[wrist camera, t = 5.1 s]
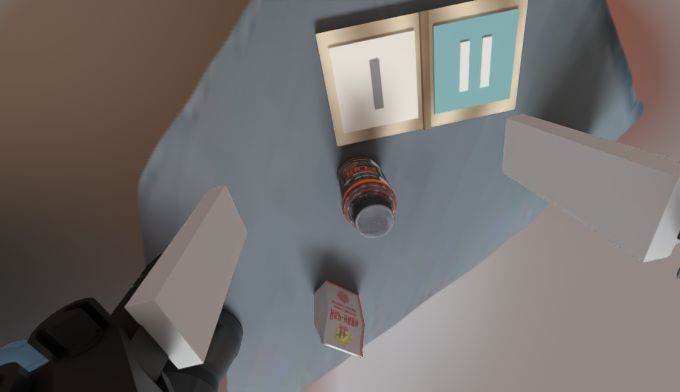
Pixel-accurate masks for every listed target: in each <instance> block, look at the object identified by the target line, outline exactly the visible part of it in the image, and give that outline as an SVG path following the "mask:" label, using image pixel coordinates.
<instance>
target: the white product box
mask: <svg viewBox="0 0 680 392" xmlns="http://www.w3.org/2000/svg"><path fill="white" fill-rule="evenodd" d="M314 325H315V327H316V329H317V331H318V333H319V335H320V338H321V342H322V344H324V345H326V346H329V347H332V348H335V349H338V350H340V351H343V352H346V353H349V354H351V355H355V356H357V357H360V358H361V356H363V354H362V348H363V335H364V320H363V315H362V310H361V305H360V300H359V295H358V294H355V293H353V292H351V291H349V290H347V289H345V288H342V287H340V286H338V285H336V284H334V283H331V282H329V281H327V280H326V281H325V282H324V283H323V284H322V286H321V287H320V288H319V289H318V290H317V291H316V292H315V293H314Z"/></svg>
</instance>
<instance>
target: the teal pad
mask: <svg viewBox="0 0 680 392" xmlns="http://www.w3.org/2000/svg"><path fill="white" fill-rule="evenodd" d="M519 9H520V8H519ZM519 9H514V10H509V11H505V12H500V13H495V14H490V15H486V16H481V17H476V18H471V19H466V20H462V21H457V22H452V23H447V24H443V25H438V26H433V27H432V31H433V84H434V114H439V113H444V112H449V111H453V110H458V109H463V108H468V107H472V106H477V105H482V104H487V103H491V102H496V101H501V100H506V99H510V92H511V82H512V73H513V64H514V55H515V46H516V36H517V27H518V18H519Z"/></svg>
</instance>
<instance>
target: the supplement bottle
mask: <svg viewBox="0 0 680 392" xmlns="http://www.w3.org/2000/svg"><path fill="white" fill-rule="evenodd" d="M337 182H338V188H339V193H340V199H341V205H342V210H343V214H344V217H345V218H346V220H347V222H348V223H349V224H350V225H352V226H353V227H355V228H356V229H357V231H358V232H359V233H360V234H361V235H363V236H365V237H369V238H377V237H381V236H383V235H385V234H386V233H388V232H389V231H390V230H391V228H392V227H393V225H394V220H395V218H394V214H395V212H396V207H397V202H396V197H395V195H394V193H393V191H392V189H391V187H390V185H389V184H388V182H387V180H386V178H385V176H384V175H383V173H382V171H381V169H380V167H379V166H378V165H377V163H376V162H375V161H373V160H372V159H370V158H367V157H354V158H351V159H349V160H347V161H346V162H345V163H344V164H343V165H342V166H341V167H340V169H339V171H338V175H337Z"/></svg>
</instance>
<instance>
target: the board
mask: <svg viewBox="0 0 680 392" xmlns="http://www.w3.org/2000/svg"><path fill="white" fill-rule="evenodd" d="M527 3H528V0H475V1H470V2H466V3H461V4H456V5H451V6H446V7H442V8H437V9H432V10H426V11H421V12H418V13H413V14H408V15H404V16H399V17H394V18H389V19H385V20H380V21H375V22H370V23H366V24H361V25H356V26H351V27H346V28H342V29H337V30H332V31H327V32H323V33H318V34H315V35H316V40H317V45H318V50H319V55H320V60H321V65H322V71H323V76H324V81H325V86H326V91H327V96H328V101H329V106H330V111H331V117H332V122H333V127H334V132H335V137H336V142H337V146H342V145H347V144H352V143H356V142H361V141H366V140H371V139H376V138H380V137H385V136H390V135H395V134H399V133H404V132H409V131H414V130H418V129H424V130H426V129H431V127H433V126H437V125H442V124H447V123H452V122H457V121H461V120H466V119H471V118H476V117H480V116H485V115H490V114H495V113H499V112H504V111H509V110H514V109H515V104H516V95H517V87H518V79H519V70H520V62H521V53H522V45H523V37H524V28H525V20H526V11H527ZM519 8H520V9H519ZM514 9H519V18H518V27H517V36H516V46H515V55H514V64H513V73H512V82H511V92H510V99H506V100H501V101H496V102H491V103H487V104H482V105H477V106H472V107H468V108H463V109H458V110H453V111H449V112H444V113H439V114H434V84H433V31H432V27H433V26H438V25H443V24H447V23H452V22H457V21H462V20H466V19H471V18H476V17H481V16H486V15H490V14H495V13H500V12H505V11H509V10H514ZM409 31H415V53H416V75H417V97H418V118H415V119H410V120H406V121H401V122H396V123H391V124H387V125H382V126H377V127H372V128H368V129H363V130H358V131H353V132H348V133H343V127H342V121H341V116H340V110H339V105H338V99H337V94H336V88H335V83H334V77H333V72H332V66H331V60H330V55H329V49H328V48H333V47H338V46H343V45H347V44H352V43H357V42H362V41H366V40H371V39H376V38H381V37H386V36H390V35H395V34H400V33H405V32H409Z"/></svg>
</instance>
